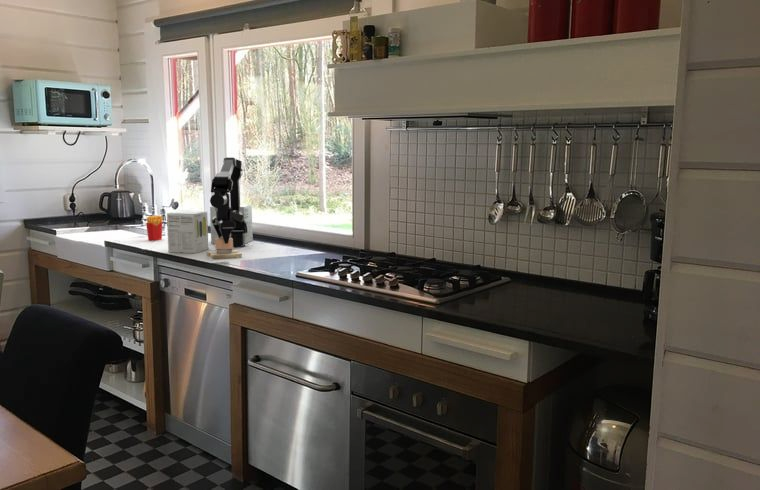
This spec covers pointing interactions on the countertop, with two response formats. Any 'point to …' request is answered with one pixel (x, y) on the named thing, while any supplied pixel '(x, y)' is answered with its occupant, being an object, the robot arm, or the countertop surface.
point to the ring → (223, 243)
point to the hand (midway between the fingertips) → (224, 242)
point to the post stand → (223, 253)
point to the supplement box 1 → (187, 231)
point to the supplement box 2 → (247, 237)
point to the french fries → (154, 227)
